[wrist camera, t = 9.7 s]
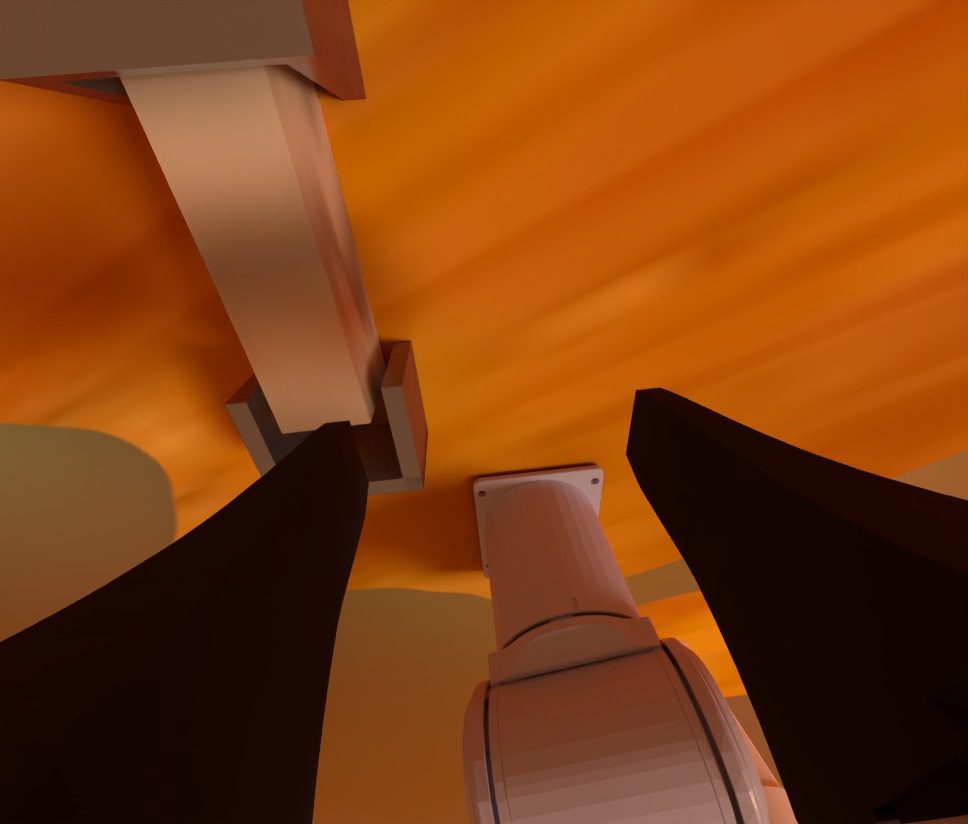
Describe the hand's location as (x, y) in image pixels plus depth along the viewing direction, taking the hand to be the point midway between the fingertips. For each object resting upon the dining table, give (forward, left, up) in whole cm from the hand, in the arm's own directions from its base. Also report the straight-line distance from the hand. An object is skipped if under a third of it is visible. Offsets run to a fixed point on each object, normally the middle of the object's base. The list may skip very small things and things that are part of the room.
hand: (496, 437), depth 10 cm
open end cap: (-4, +6, -10) cm, 12 cm away
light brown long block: (+4, +7, -10) cm, 13 cm away
